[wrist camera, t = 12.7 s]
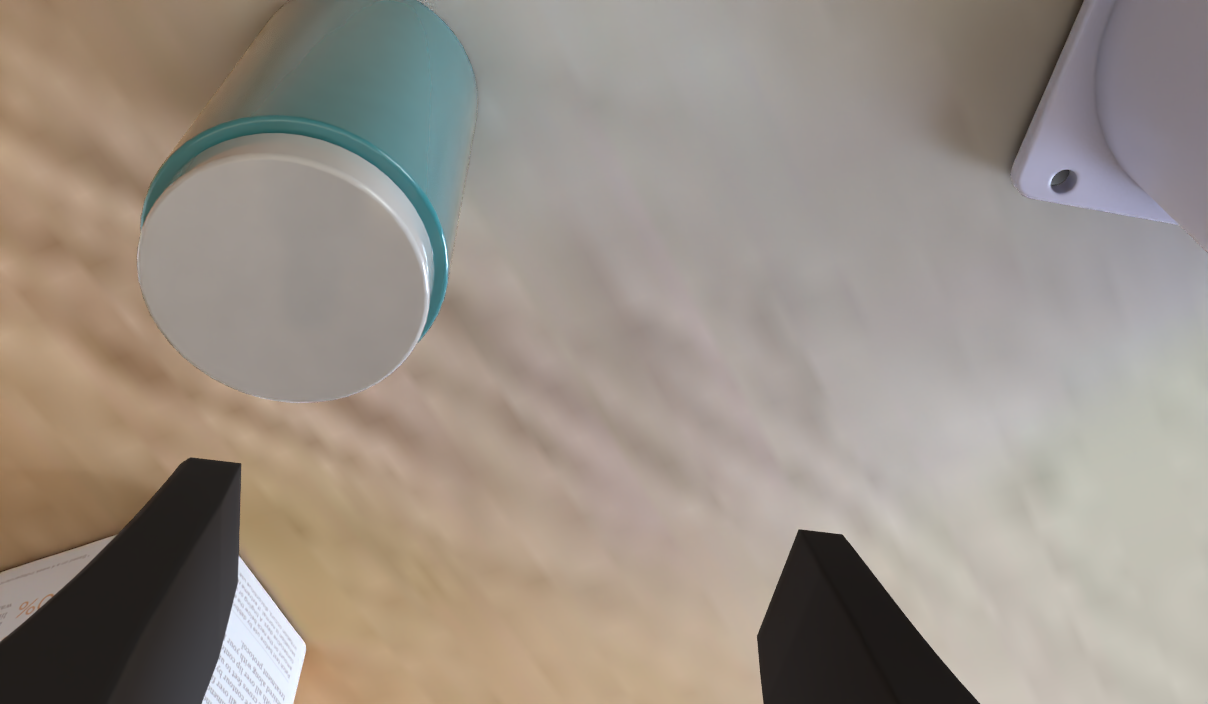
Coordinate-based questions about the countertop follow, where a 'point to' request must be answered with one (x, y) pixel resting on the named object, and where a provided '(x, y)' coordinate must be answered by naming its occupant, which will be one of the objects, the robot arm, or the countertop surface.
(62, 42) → the countertop surface
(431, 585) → the countertop surface
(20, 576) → the small box
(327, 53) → the salt shaker
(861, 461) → the countertop surface
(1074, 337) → the countertop surface
